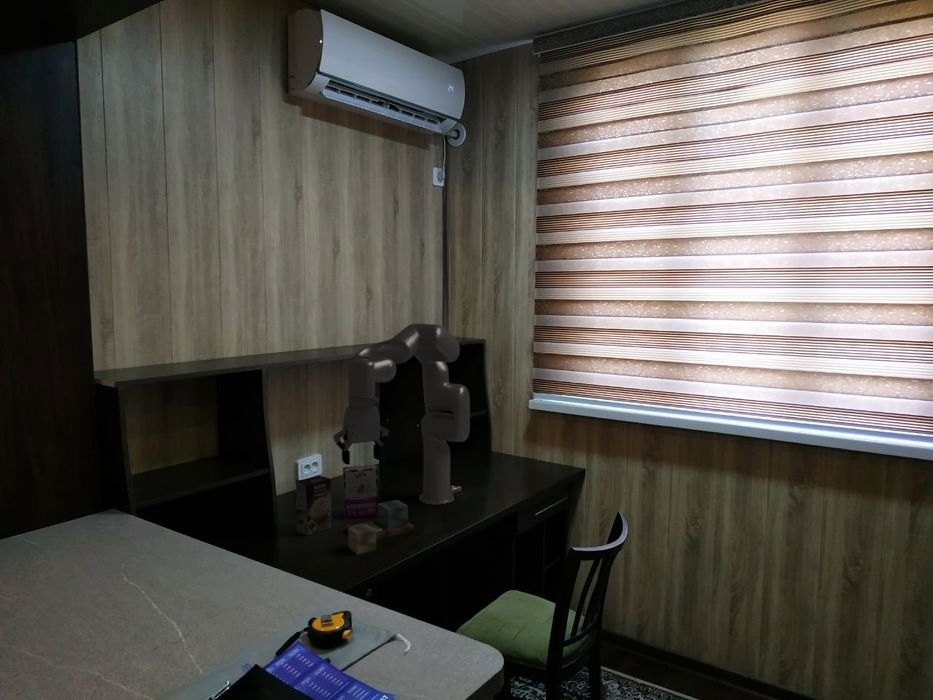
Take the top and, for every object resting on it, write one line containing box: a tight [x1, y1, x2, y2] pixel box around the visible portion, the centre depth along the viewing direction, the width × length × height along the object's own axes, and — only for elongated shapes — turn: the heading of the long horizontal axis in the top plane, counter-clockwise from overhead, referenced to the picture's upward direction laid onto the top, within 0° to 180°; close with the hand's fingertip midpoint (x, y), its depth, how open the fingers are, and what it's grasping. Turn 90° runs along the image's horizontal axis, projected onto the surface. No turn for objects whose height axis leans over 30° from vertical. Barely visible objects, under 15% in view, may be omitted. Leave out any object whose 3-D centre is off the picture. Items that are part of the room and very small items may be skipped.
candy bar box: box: [342, 464, 379, 520], centre depth 224 cm, size 11×5×16 cm, turn 105°
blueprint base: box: [344, 499, 416, 540], centre depth 211 cm, size 18×12×8 cm, turn 125°
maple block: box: [347, 524, 377, 555], centre depth 196 cm, size 6×6×6 cm
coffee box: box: [295, 475, 332, 536], centre depth 210 cm, size 9×6×16 cm
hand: (361, 461), depth 194 cm, fingers open, 9 cm apart
